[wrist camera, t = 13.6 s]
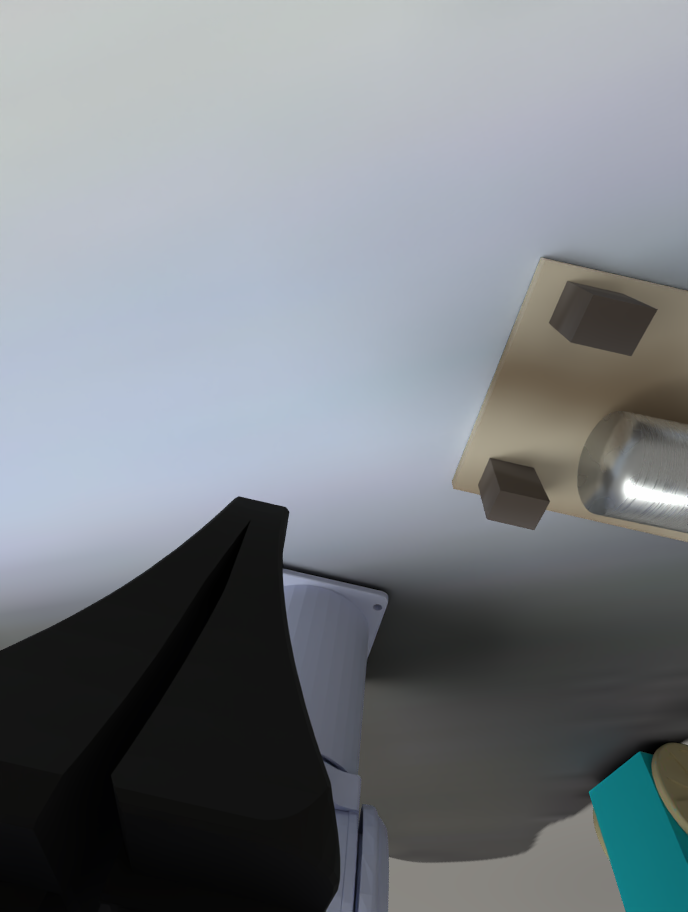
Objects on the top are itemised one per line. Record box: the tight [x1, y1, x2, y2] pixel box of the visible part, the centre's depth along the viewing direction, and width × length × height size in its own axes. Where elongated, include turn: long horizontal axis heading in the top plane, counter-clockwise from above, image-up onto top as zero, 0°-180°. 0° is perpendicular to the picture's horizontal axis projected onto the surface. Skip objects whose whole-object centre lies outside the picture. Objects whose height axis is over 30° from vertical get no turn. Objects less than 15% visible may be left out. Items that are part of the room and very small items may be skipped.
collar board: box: [452, 257, 688, 542], centre depth 17 cm, size 10×14×4 cm
